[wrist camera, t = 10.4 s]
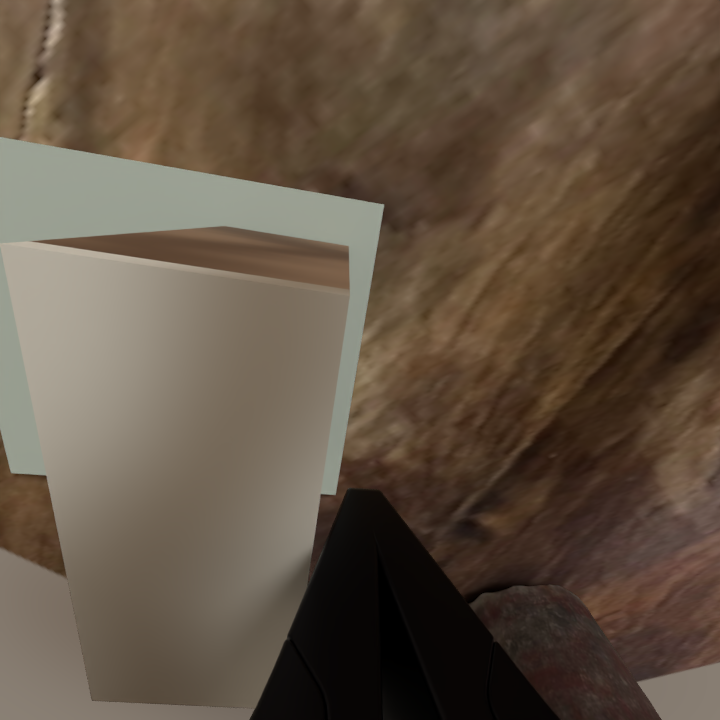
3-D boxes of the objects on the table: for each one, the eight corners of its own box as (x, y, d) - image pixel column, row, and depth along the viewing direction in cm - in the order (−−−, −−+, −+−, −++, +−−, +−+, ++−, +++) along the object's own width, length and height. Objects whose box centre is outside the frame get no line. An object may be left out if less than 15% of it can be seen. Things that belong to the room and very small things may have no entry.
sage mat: (381, 205, 12) (384, 204, 12) (335, 485, 16) (335, 494, 16) (-53, 128, 10) (-75, 124, 10) (22, 463, 15) (11, 473, 14)
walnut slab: (348, 245, 12) (350, 295, 4) (317, 467, 15) (288, 710, 8) (225, 226, 11) (-1, 243, 4) (220, 456, 15) (92, 700, 7)
